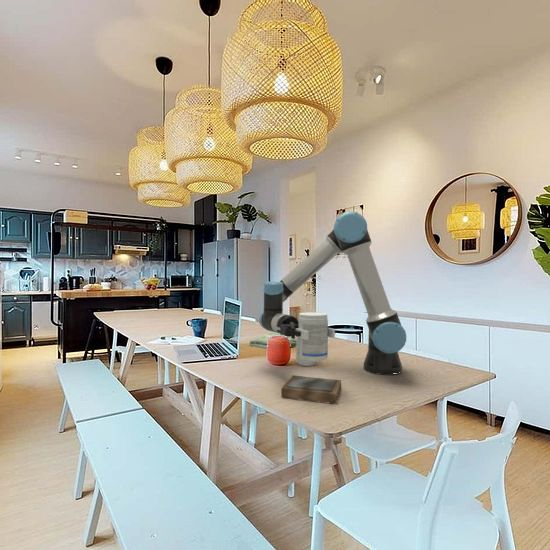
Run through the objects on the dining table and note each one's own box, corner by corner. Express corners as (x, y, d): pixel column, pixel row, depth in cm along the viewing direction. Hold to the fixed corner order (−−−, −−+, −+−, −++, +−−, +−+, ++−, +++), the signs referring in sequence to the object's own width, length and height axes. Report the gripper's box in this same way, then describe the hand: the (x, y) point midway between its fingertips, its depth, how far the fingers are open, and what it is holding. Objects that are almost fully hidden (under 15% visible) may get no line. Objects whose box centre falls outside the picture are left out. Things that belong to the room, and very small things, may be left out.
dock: (341, 388, 126) (341, 379, 126) (335, 403, 112) (335, 392, 112) (292, 383, 131) (292, 374, 131) (281, 397, 117) (281, 386, 117)
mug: (291, 363, 159) (292, 338, 159) (304, 360, 166) (305, 335, 165) (314, 369, 151) (314, 342, 151) (326, 365, 157) (327, 339, 157)
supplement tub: (333, 359, 120) (334, 314, 120) (310, 363, 115) (311, 316, 114) (314, 353, 128) (315, 311, 128) (292, 357, 123) (292, 312, 123)
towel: (282, 352, 184) (282, 341, 184) (248, 346, 196) (249, 336, 196) (301, 346, 199) (301, 336, 199) (268, 341, 211) (268, 332, 211)
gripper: (310, 333, 142) (348, 343, 123) (258, 337, 132) (291, 349, 112) (310, 313, 142) (348, 321, 123) (258, 316, 132) (291, 324, 112)
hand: (321, 334), depth 117 cm, fingers closed on supplement tub, 9 cm apart
